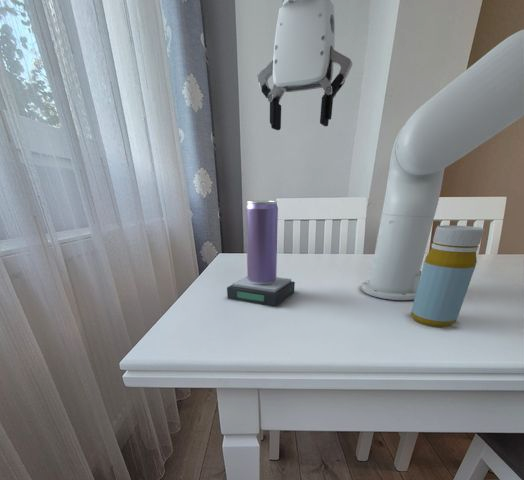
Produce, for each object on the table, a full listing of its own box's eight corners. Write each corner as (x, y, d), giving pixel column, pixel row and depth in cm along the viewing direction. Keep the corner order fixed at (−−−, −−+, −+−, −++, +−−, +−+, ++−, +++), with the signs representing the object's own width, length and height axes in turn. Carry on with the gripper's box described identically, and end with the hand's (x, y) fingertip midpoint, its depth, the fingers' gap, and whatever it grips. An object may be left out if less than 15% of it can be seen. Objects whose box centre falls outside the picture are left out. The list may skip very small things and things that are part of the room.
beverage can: (274, 286, 58) (275, 201, 51) (244, 284, 59) (242, 201, 52) (277, 278, 63) (279, 200, 56) (250, 277, 64) (249, 200, 57)
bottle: (461, 330, 47) (497, 231, 40) (415, 326, 49) (442, 229, 41) (446, 314, 53) (475, 225, 46) (406, 311, 55) (428, 224, 47)
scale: (294, 292, 64) (295, 279, 63) (275, 307, 56) (275, 292, 55) (250, 286, 69) (249, 273, 67) (226, 298, 61) (226, 284, 59)
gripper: (364, -6, 47) (349, 127, 55) (267, 18, 54) (266, 133, 62) (356, -33, 41) (340, 119, 49) (247, -3, 48) (249, 127, 56)
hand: (299, 127), depth 56 cm, fingers open, 9 cm apart
